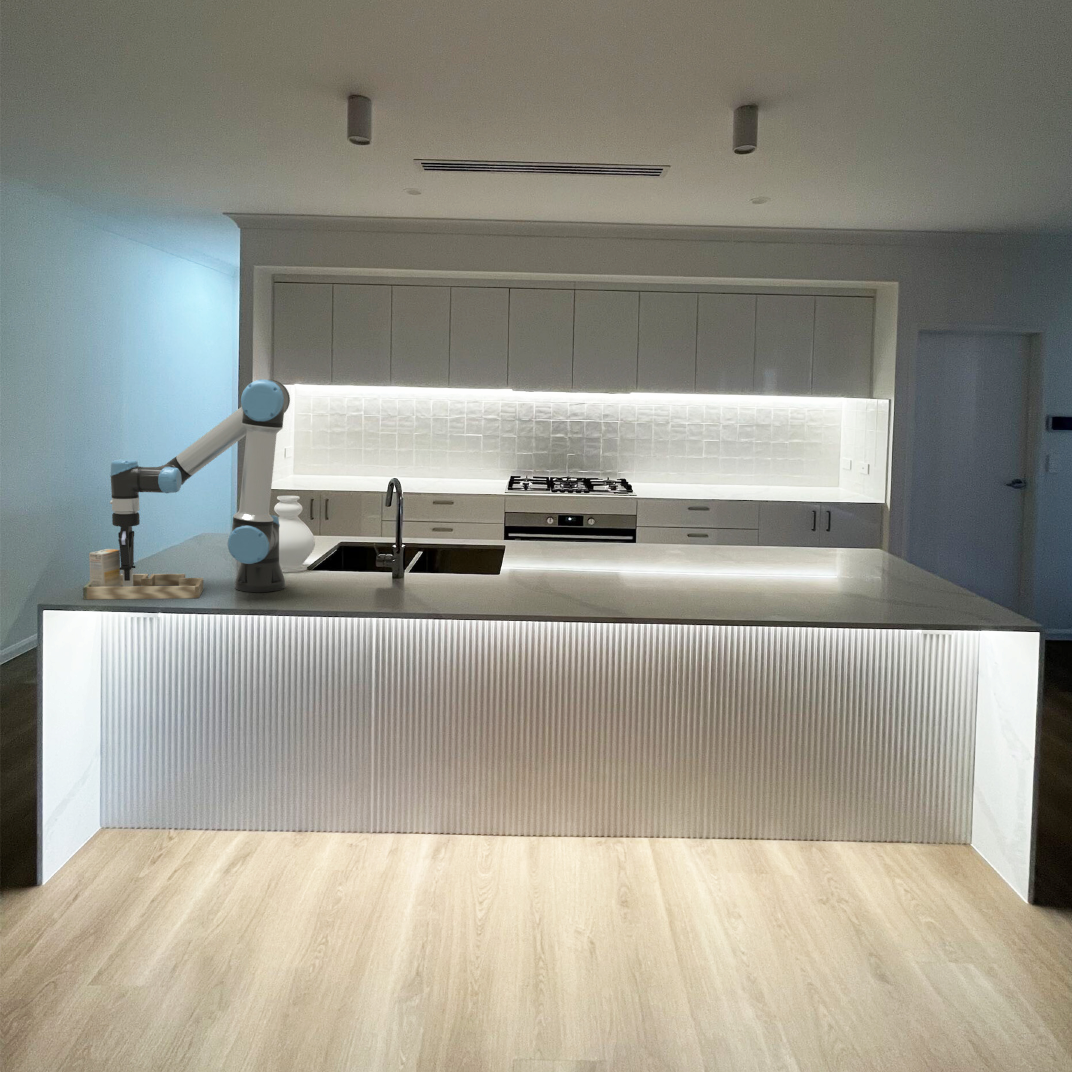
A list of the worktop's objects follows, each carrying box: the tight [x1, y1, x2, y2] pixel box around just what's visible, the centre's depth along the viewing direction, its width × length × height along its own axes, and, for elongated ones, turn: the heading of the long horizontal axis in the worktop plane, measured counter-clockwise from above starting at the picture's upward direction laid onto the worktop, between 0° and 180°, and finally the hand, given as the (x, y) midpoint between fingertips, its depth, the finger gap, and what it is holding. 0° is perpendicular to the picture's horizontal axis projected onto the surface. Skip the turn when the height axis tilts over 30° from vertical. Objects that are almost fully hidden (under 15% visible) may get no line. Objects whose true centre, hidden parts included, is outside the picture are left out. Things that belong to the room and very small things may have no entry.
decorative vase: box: [273, 495, 316, 573], centre depth 368 cm, size 18×18×25 cm
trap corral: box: [82, 573, 204, 600], centre depth 325 cm, size 32×21×4 cm, turn 102°
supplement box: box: [88, 548, 121, 587], centre depth 319 cm, size 8×5×13 cm, turn 164°
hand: (128, 590), depth 321 cm, fingers closed
